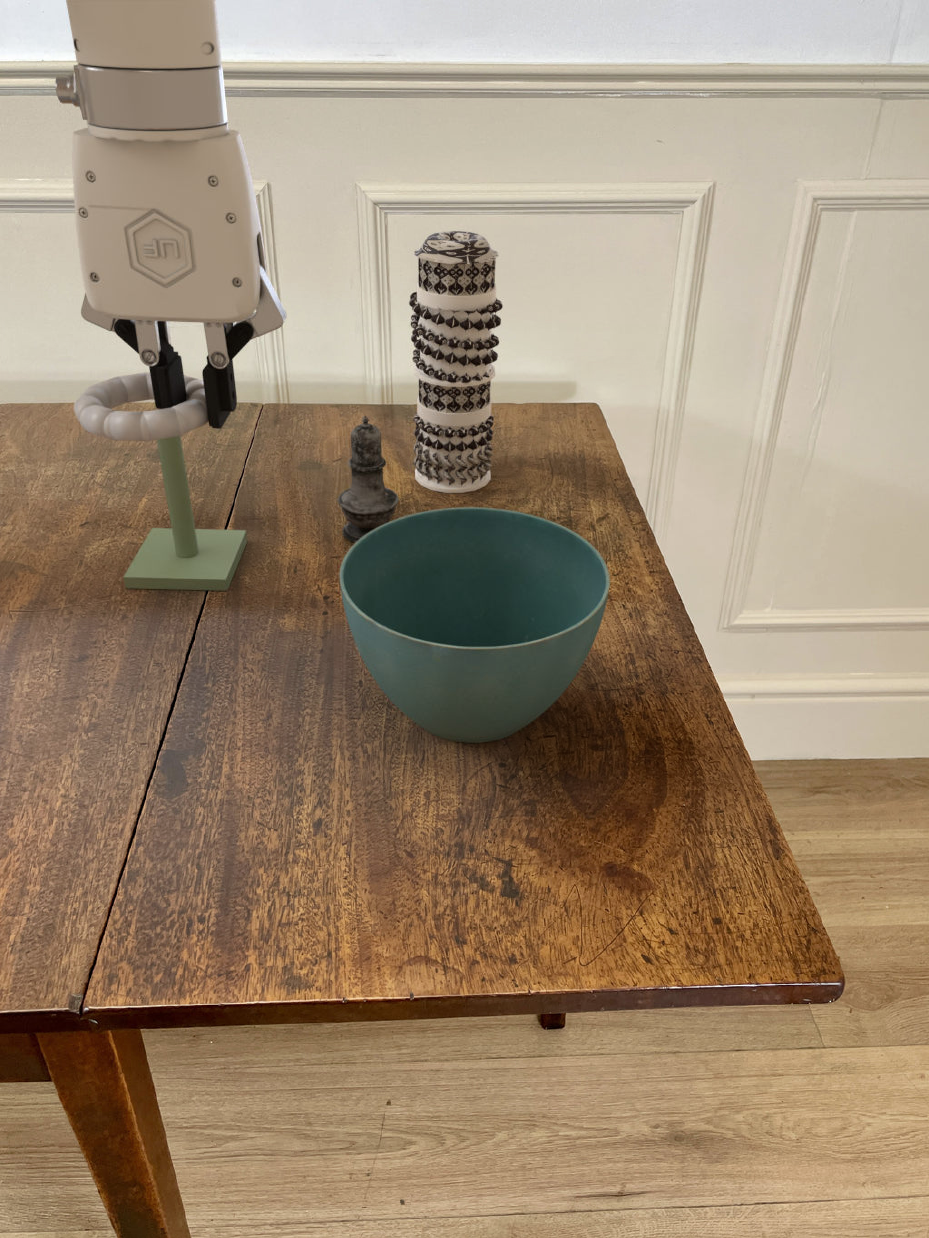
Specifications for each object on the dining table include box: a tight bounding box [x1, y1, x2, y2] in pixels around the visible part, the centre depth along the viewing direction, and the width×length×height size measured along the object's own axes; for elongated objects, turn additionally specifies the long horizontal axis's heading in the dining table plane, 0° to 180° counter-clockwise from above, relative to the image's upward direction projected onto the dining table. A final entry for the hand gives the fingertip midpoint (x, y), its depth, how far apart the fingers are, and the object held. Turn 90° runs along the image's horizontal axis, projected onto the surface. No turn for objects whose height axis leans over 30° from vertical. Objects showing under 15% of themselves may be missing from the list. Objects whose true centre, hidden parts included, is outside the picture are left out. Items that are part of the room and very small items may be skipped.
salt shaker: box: [337, 415, 399, 544], centre depth 89 cm, size 6×6×12 cm
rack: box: [122, 435, 248, 592], centre depth 83 cm, size 9×9×14 cm
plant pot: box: [338, 506, 611, 744], centre depth 67 cm, size 18×18×12 cm
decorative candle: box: [408, 230, 504, 494], centre depth 97 cm, size 9×9×25 cm
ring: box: [73, 371, 209, 442], centre depth 62 cm, size 9×9×2 cm
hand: (198, 417), depth 62 cm, fingers closed on ring, 2 cm apart
